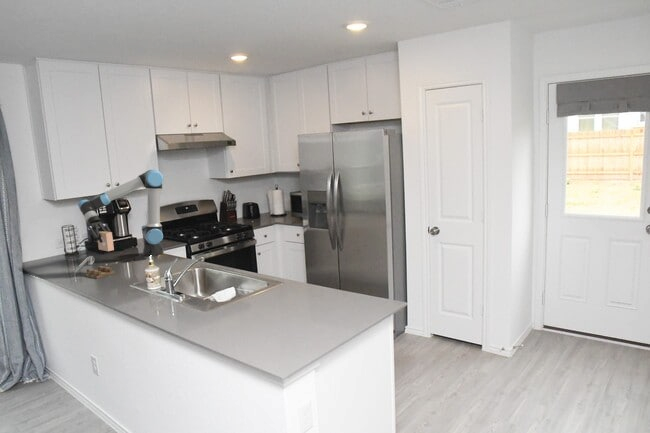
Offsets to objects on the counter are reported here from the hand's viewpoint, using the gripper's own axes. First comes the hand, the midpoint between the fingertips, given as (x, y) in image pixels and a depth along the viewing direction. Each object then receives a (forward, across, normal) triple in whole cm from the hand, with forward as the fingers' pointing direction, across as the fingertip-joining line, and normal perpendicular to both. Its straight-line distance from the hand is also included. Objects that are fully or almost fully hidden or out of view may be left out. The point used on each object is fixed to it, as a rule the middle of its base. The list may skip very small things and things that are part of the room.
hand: (108, 244), depth 306 cm
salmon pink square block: (0, 0, -5) cm, 5 cm away
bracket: (-8, +3, -36) cm, 37 cm away
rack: (+12, +8, -14) cm, 20 cm away
